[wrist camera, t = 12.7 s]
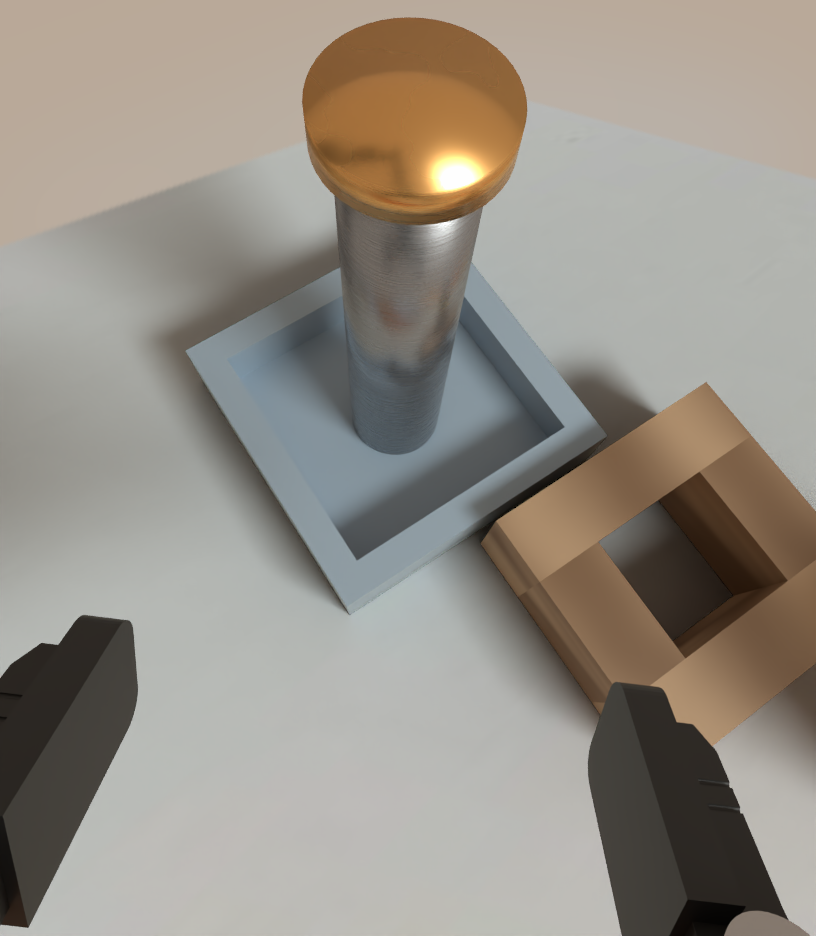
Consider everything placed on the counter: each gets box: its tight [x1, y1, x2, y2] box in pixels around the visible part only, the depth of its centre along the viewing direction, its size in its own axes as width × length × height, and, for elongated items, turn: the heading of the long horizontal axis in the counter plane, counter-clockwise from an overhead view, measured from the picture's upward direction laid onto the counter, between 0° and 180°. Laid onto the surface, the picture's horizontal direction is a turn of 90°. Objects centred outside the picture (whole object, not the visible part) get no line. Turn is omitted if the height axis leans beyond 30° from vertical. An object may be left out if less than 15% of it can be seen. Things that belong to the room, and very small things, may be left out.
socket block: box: [481, 382, 816, 746], centre depth 27 cm, size 10×10×4 cm
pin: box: [302, 18, 527, 455], centre depth 22 cm, size 5×5×16 cm
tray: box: [185, 262, 608, 615], centre depth 29 cm, size 12×12×3 cm
